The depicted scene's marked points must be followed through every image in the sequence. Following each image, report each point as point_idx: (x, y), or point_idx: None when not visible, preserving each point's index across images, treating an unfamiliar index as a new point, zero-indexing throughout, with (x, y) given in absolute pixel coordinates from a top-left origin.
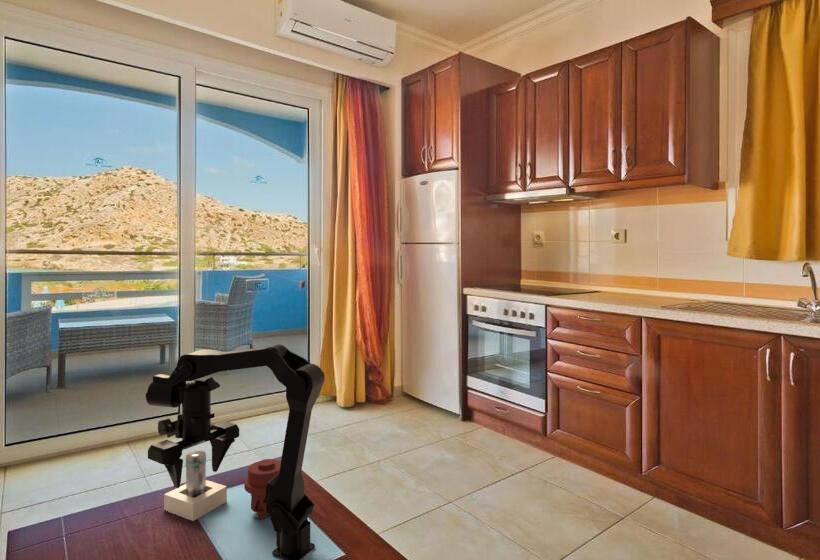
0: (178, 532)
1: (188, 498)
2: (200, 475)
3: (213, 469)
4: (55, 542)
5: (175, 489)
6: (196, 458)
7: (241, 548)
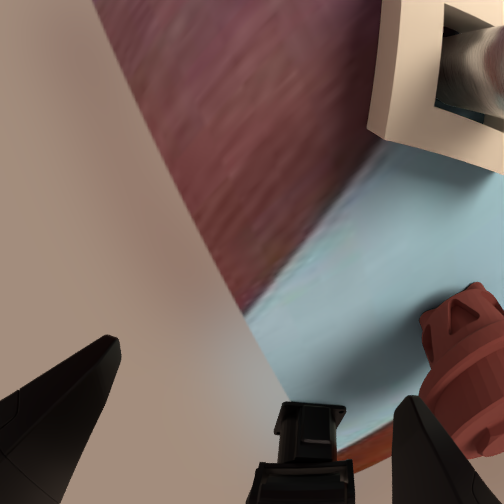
0: (284, 130)
1: (420, 82)
2: None
3: (404, 411)
4: None
5: None
6: None
7: (282, 348)
